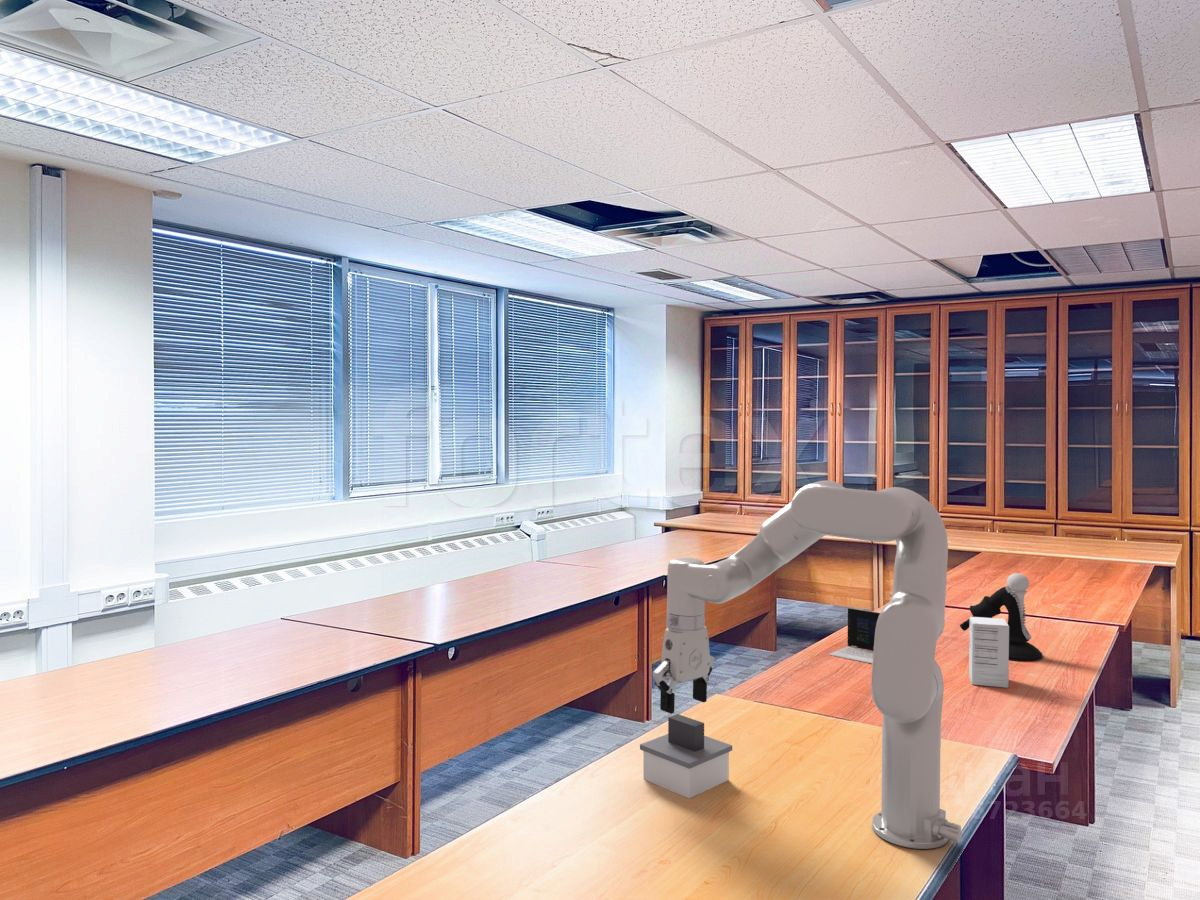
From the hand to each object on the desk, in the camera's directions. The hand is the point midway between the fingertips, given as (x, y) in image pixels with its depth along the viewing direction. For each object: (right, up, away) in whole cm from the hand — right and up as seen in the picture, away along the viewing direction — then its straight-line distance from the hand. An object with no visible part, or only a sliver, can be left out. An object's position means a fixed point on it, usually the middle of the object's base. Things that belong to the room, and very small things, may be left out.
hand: (683, 705), depth 169 cm
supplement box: (+90, -13, +63) cm, 110 cm away
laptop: (+64, -12, +88) cm, 110 cm away
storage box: (+1, -15, 0) cm, 15 cm away
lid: (0, -9, 0) cm, 9 cm away
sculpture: (+107, -12, +93) cm, 142 cm away
